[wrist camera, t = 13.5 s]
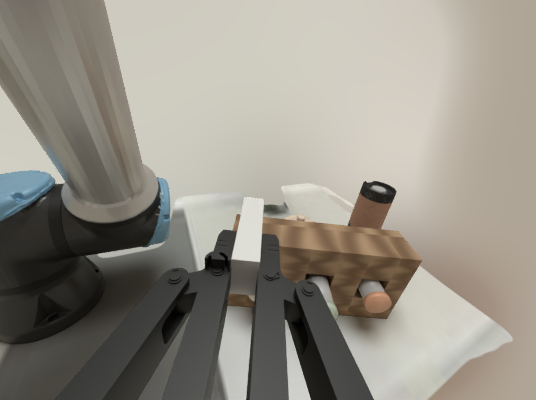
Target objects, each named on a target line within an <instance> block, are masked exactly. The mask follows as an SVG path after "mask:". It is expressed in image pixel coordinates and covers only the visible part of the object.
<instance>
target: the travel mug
mask: <svg viewBox="0 0 536 400" xmlns="http://www.w3.org/2000/svg"><path fill="white" fill-rule="evenodd" d="M395 195H396V190H395V189H394V188H393V187H391V186H389V185H387V184H385V183H381V182H378V181H373V182H371V183H367V182H366V181H365V182H364V183H363V185H362V188H361V191H360V193H359V196H358V199H357V202H356V204H355V207H354V209H353V212H352V215H351V217H350V220H349V223H348V226H353V227H363V228H372V229H381V227H382V225H383V222H384V220H385V218H386V215H387V213H388V210H389V208H390V206H391V204H392V201H393V199H394V197H395Z"/></svg>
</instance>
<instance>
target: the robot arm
mask: <svg viewBox="0 0 536 400" xmlns="http://www.w3.org/2000/svg"><path fill="white" fill-rule="evenodd" d="M0 85H1V87H2V89H3V90H4V91H5V93H6V94H7V96H8V97H9V99H10V100H11V102H12V103H13V105H14V106H15V108H16V109H17V111H18V112H19V114H20V115H21V117H22V118H23V120H24V121H25V123H26V124H27V125H28V127H29V128H30V130H31V131H32V133H33V134H34V136H35V137H36V139H37V140H38V142H39V143H40V145H41V146H42V147H43V149H44V150H45V152H46V153H47V155H48V156H49V158H50V159H51V161H52V162H53V164H54V165H55V166H56V168H57V169H58V171H59V173H60V174H61V176H62V177H63V178H64V180H65V183H64V184H55V179H54V178H53V177H52V176H51V175H50V174H48V173H46V172H40V171H19V172H11V173H6V174H1V175H0V341H1V342H5V343H26V342H31V341H35V340H39V339H42V338H45V337H48V336H50V335H53V334H55V333H57V332H59V331H61V330H63V329H65V328H67V327H68V326H70V325H72V324H73V323H75V322H76V321H78V320H79V319H80V318H82V317H83V316H84V315H85V314H87V313H88V312H89V311H90V310H91V309H92V308H93V307H94V305H95V304H96V303H97V302H98V300H99V299H100V297H101V295H102V293H103V290H104V286H105V283H104V278H103V276H102V273H101V271H100V269H99V268H98V267H97V266H96V265H95V264H94V263H93V262H92V261H91V260H89V259H88V258H87V257H86V255H93V254H99V253H105V252H111V251H117V250H123V249H130V248H136V247H148V246H150V245H153V244H158V243H162V242H164V241H165V240H166V239H167V238H168V236H169V231H170V195H169V187H168V183H167V181H166V180H165V179H162V178H158V177H157V178H156V176H155V174H154V173H153V171H152V170H151V169H150V168H148V167H147V166H146V165H144V164H142V160H141V156H140V152H139V147H138V143H137V139H136V134H135V130H134V126H133V122H132V117H131V113H130V109H129V105H128V100H127V96H126V92H125V88H124V83H123V80H122V75H121V71H120V66H119V62H118V58H117V54H116V49H115V45H114V41H113V37H112V32H111V28H110V24H109V20H108V15H107V11H106V7H105V3H104V0H0ZM263 205H264V199H258V198H250V197H244V202H243V207H242V211H241V216H240V221H239V225H238V230H237V231H231V230H223V231H222V232H221V233H220V234H219V236H218V239H217V242H216V246H215V248H214V251H212V252H210V253H209V254H207V255H206V257H205V268H204V269H203V270H201V271H197V272H192V273H188V272H187V270H185V269H183V268H173V269H171V270H168V271H167V272H166V273H164V274H163V276H162V277H161V278H160V279H159V280H158V281H157V282H156V284H155V285H154V286H153V287H152V288H151V289H150V291H149V292H148V293H147V294H146V295H145V296H144V297H143V299H142V300H141V301H140V302H139V303H138V304H137V305H136V307H135V308H134V309H133V310H132V311H131V312H130V314H129V315H128V316H127V317H126V318H125V319H124V320H123V322H122V323H121V324H120V325H119V326H118V327H117V329H116V330H115V331H114V332H113V333H112V334H111V335H110V337H109V338H108V339H107V340H106V341H105V342H104V343H103V345H102V346H101V347H100V348H99V349H98V350H97V352H96V353H95V354H94V355H93V356H92V357H91V358H90V360H89V361H88V362H87V363H86V364H85V365H84V367H83V368H82V369H81V370H80V371H79V372H78V373H77V375H76V376H75V377H74V378H73V379H72V380H71V382H70V383H69V384H68V385H67V386H66V387H65V388H64V390H63V391H62V392H61V393H60V394H59V395H58V396H57V398H56V399H55V400H137V399H138V398H139V396H140V395H141V393H142V391H143V390H144V388H145V386H146V385H147V383H148V381H149V380H150V378H151V376H152V375H153V373H154V372H155V370H156V368H157V367H158V365H159V363H160V362H161V360H162V358H163V357H164V355H165V354H166V352H167V350H168V349H169V347H170V345H171V344H172V342H173V340H174V339H175V337H176V335H177V334H178V332H179V331H180V329H181V327H182V326H183V324H184V322H185V321H186V319H187V317H188V316H189V314H190V316H189V319H188V322H187V325H186V328H185V331H184V334H183V337H182V340H181V343H180V346H179V350H178V353H177V356H176V359H175V362H174V365H173V368H172V371H171V374H170V377H169V380H168V383H167V386H166V389H165V392H164V395H163V398H162V400H210V398H211V393H212V388H213V382H214V377H215V371H216V366H217V360H218V355H219V350H220V344H221V339H222V333H223V328H224V322H225V317H226V312H227V306H228V297H229V293H231V294H242V295H253V296H255V300H254V307H253V321H252V334H251V347H250V359H249V372H248V385H247V398H246V400H289V396H288V376H287V356H286V337H285V320H287V322H288V325H289V328H290V331H291V335H292V338H293V341H294V345H295V348H296V351H297V355H298V358H299V361H300V365H301V368H302V371H303V375H304V378H305V381H306V384H307V388H308V391H309V394H310V398H311V400H374V399H373V397H372V395H371V393H370V391H369V388H368V386H367V384H366V382H365V380H364V378H363V376H362V374H361V372H360V370H359V368H358V366H357V364H356V362H355V360H354V358H353V356H352V354H351V352H350V350H349V348H348V345H347V343H346V341H345V339H344V337H343V335H342V333H341V331H340V329H339V327H338V325H337V323H336V321H335V319H334V317H333V315H332V313H331V311H330V309H329V307H328V305H327V303H326V300H325V298H324V296H323V294H322V292H321V290H320V288H319V287H318V286H317V284H315V283H314V282H312V281H310V280H301V281H299V282H298V283H296V282H293V281H291V280H289V279H287V278H286V277H284V275H283V274H282V272H281V269H280V252H279V239H278V238H277V236H276V235H273V234H264V233H262V222H263ZM190 312H191V313H190Z"/></svg>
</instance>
